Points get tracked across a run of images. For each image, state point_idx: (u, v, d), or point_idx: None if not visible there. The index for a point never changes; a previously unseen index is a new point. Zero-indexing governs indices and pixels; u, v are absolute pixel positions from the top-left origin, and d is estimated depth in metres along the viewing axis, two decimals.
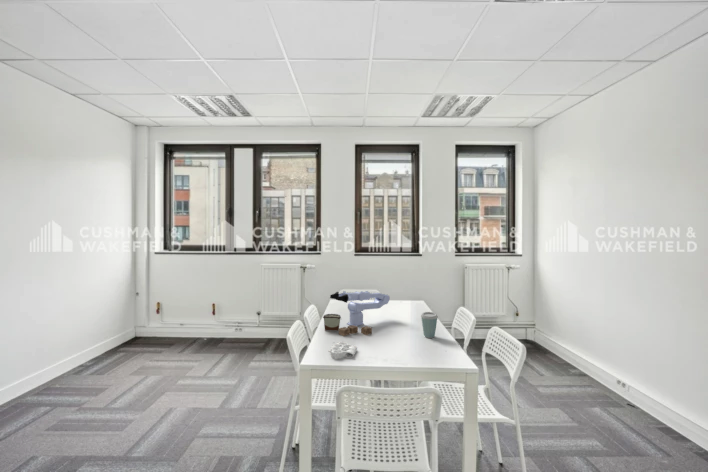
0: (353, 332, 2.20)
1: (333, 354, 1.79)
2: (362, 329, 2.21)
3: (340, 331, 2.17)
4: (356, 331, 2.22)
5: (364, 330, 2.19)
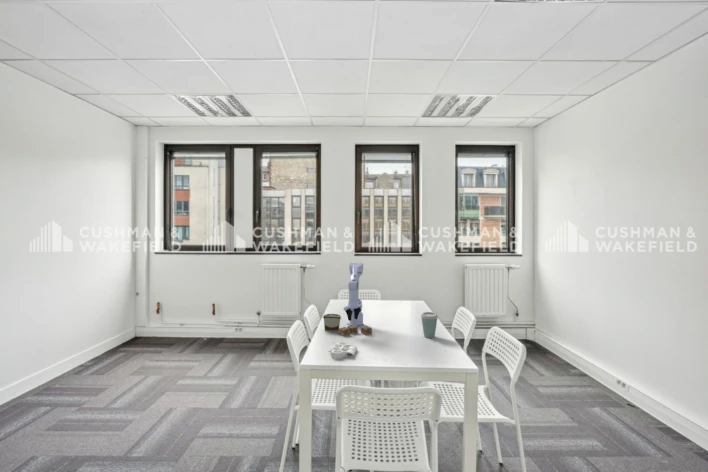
0: (353, 332, 2.20)
1: (333, 354, 1.79)
2: (362, 329, 2.21)
3: (340, 331, 2.18)
4: (356, 331, 2.22)
5: (364, 330, 2.19)
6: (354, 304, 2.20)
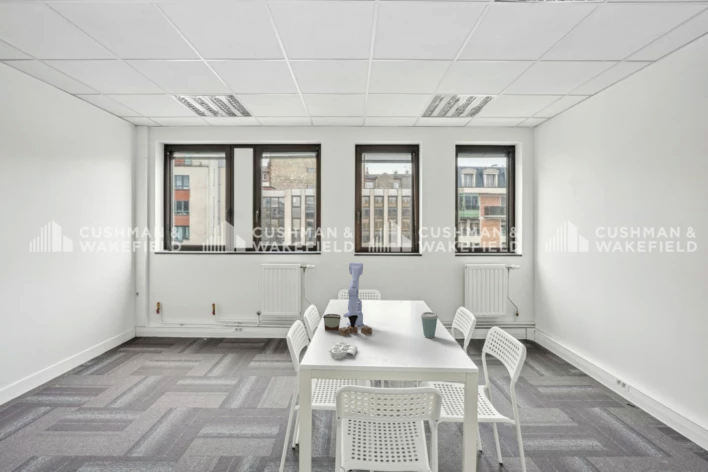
0: (353, 332, 2.20)
1: (333, 354, 1.79)
2: (362, 329, 2.21)
3: (340, 331, 2.18)
4: (356, 331, 2.22)
5: (364, 330, 2.19)
6: (354, 311, 2.20)
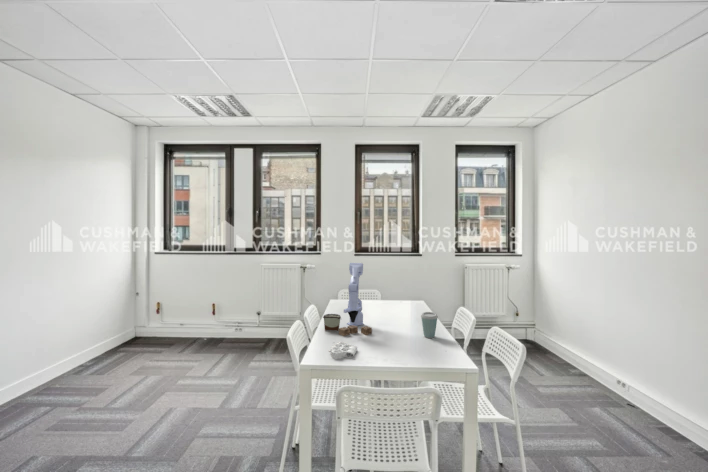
0: (353, 332, 2.20)
1: (333, 354, 1.79)
2: (362, 329, 2.21)
3: (340, 331, 2.18)
4: (356, 331, 2.22)
5: (364, 330, 2.19)
6: (354, 306, 2.20)
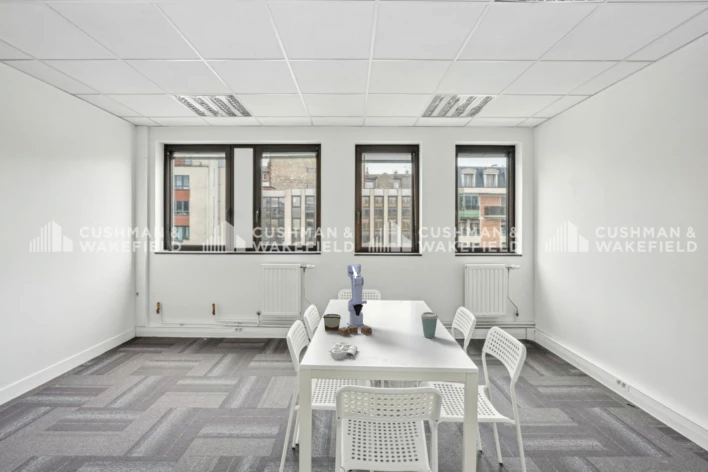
0: (353, 332, 2.20)
1: (333, 354, 1.79)
2: (362, 329, 2.21)
3: (340, 331, 2.18)
4: (356, 331, 2.22)
5: (364, 330, 2.19)
6: (359, 300, 2.24)
